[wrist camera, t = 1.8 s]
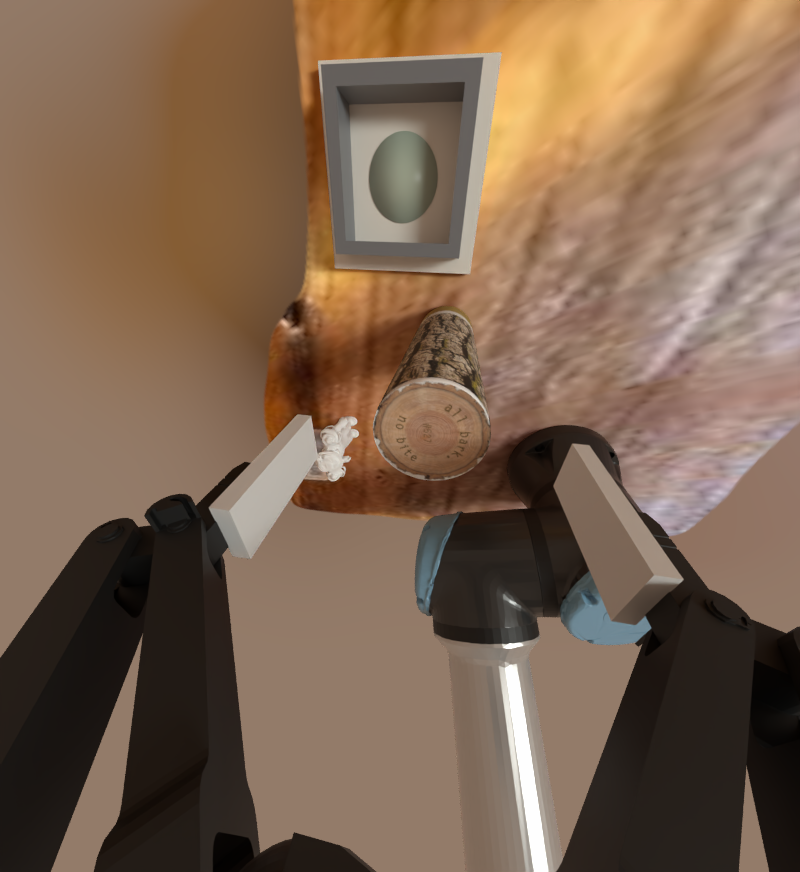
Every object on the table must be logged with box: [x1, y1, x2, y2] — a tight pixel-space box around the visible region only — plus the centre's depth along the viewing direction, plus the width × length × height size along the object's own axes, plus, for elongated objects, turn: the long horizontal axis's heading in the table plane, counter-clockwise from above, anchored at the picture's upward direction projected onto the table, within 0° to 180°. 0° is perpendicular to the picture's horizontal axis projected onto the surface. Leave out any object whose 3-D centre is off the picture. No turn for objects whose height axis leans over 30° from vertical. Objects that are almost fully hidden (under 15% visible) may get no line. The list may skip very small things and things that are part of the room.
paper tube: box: [373, 306, 491, 481], centre depth 27 cm, size 7×7×25 cm
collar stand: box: [318, 52, 502, 274], centre depth 28 cm, size 16×16×4 cm
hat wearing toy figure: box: [315, 416, 359, 481], centre depth 42 cm, size 9×4×12 cm, turn 178°
